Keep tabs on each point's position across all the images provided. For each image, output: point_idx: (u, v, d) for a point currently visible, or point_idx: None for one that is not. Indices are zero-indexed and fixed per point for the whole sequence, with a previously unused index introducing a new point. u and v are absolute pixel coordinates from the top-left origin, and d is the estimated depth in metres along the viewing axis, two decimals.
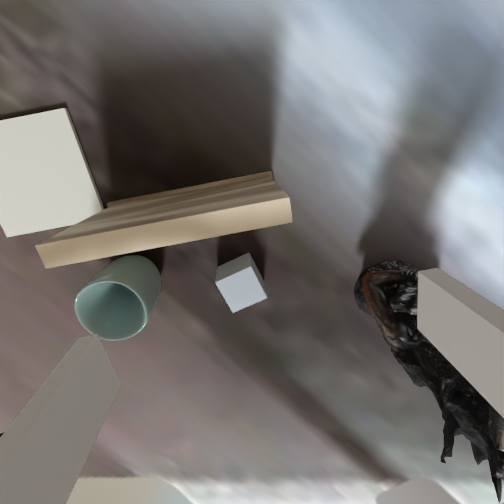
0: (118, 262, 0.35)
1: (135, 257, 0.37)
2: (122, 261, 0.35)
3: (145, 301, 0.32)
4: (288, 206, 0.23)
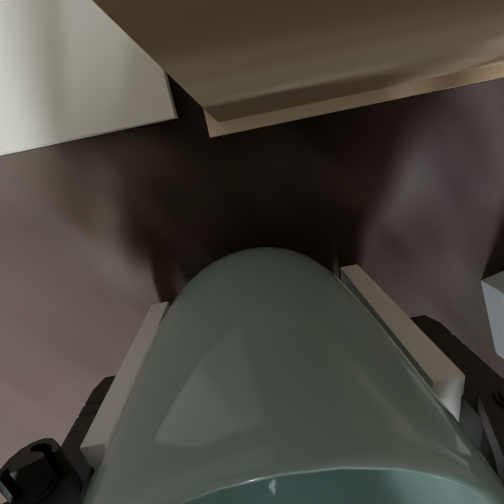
0: (259, 278, 0.08)
1: (294, 255, 0.10)
2: (272, 274, 0.08)
3: None
4: None
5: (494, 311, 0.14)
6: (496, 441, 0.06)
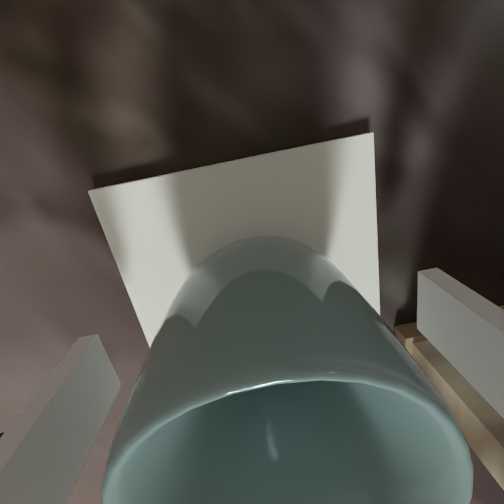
0: (261, 258, 0.09)
1: (292, 242, 0.11)
2: (272, 254, 0.09)
3: None
4: None
5: None
6: None
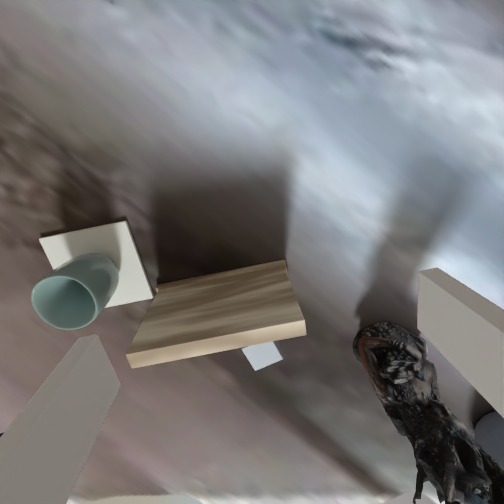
0: (74, 259, 0.39)
1: (92, 255, 0.41)
2: (78, 258, 0.39)
3: (95, 294, 0.36)
4: (303, 325, 0.32)
5: None
6: None
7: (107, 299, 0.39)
